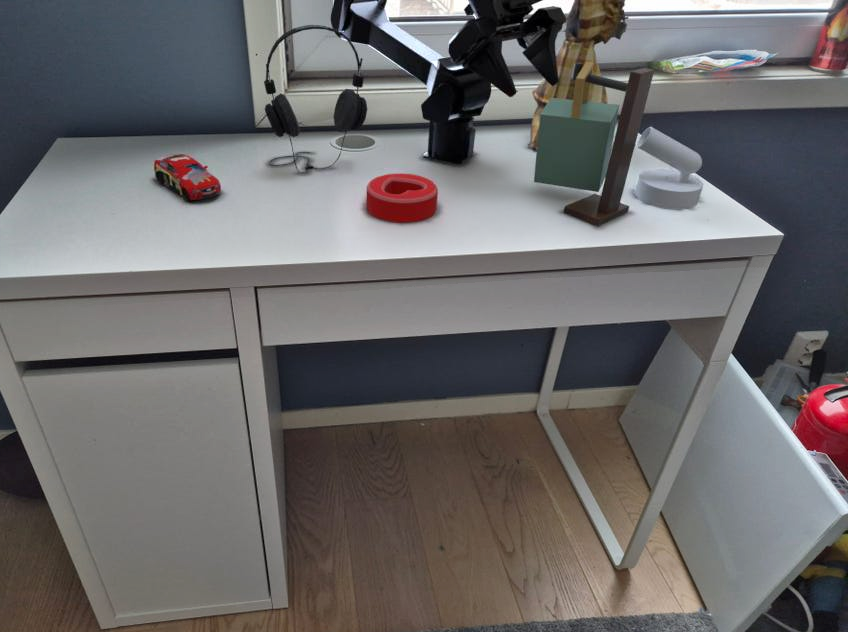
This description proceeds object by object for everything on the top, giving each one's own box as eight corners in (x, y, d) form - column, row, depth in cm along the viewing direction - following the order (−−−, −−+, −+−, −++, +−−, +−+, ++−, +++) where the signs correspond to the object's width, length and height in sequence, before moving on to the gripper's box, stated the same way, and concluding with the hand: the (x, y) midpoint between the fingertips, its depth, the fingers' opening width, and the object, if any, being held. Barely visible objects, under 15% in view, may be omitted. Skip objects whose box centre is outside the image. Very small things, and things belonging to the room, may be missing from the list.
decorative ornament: (395, 188, 95) (396, 167, 93) (449, 206, 90) (451, 184, 88) (352, 208, 89) (351, 186, 87) (408, 229, 84) (409, 206, 83)
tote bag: (533, 182, 93) (543, 74, 82) (543, 164, 96) (554, 58, 85) (598, 192, 89) (617, 81, 79) (606, 173, 92) (626, 64, 82)
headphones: (349, 148, 109) (349, 14, 97) (371, 172, 100) (373, 28, 88) (260, 157, 105) (248, 18, 93) (274, 182, 96) (263, 34, 84)
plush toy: (509, 119, 119) (546, -32, 100) (581, 120, 120) (631, -28, 101) (528, 163, 110) (574, 6, 91) (606, 164, 111) (666, 9, 92)
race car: (227, 198, 92) (224, 170, 89) (192, 207, 89) (188, 179, 87) (184, 170, 100) (180, 144, 98) (151, 178, 97) (146, 151, 95)
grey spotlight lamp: (638, 117, 93) (712, 122, 91) (621, 182, 98) (691, 188, 97) (646, 136, 86) (727, 142, 84) (628, 205, 92) (703, 211, 90)
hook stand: (534, 201, 92) (559, 60, 81) (565, 189, 96) (592, 52, 85) (598, 226, 86) (634, 77, 75) (627, 212, 89) (666, 68, 78)
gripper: (474, -55, 77) (532, 63, 78) (569, -62, 87) (620, 43, 87) (423, 9, 87) (475, 114, 87) (513, -4, 97) (560, 91, 97)
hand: (535, 89), depth 89 cm, fingers open, 9 cm apart
